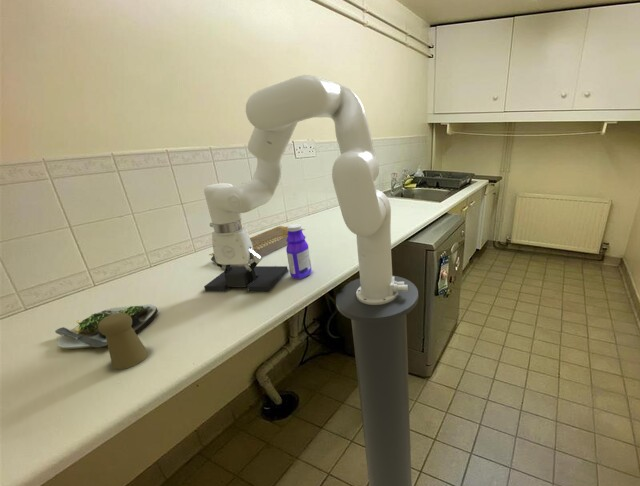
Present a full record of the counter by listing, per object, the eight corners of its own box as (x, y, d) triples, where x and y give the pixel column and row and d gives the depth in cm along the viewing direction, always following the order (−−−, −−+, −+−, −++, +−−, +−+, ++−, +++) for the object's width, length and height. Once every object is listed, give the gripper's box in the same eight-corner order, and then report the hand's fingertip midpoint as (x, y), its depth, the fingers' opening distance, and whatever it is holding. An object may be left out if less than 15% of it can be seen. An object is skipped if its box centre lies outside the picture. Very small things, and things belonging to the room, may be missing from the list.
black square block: (256, 277, 100) (253, 266, 99) (246, 286, 95) (243, 275, 93) (238, 277, 100) (235, 266, 99) (227, 286, 95) (224, 275, 93)
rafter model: (239, 269, 109) (235, 253, 107) (211, 263, 114) (206, 248, 112) (305, 236, 139) (303, 223, 137) (281, 233, 144) (278, 220, 142)
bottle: (301, 269, 108) (293, 221, 102) (315, 271, 106) (308, 223, 100) (287, 278, 102) (278, 228, 95) (302, 281, 100) (293, 230, 94)
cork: (151, 346, 72) (134, 305, 68) (145, 363, 67) (127, 320, 63) (117, 355, 69) (98, 313, 65) (108, 373, 64) (87, 329, 60)
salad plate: (24, 359, 69) (14, 342, 67) (93, 313, 85) (86, 298, 84) (118, 352, 70) (111, 335, 69) (167, 308, 87) (162, 293, 85)
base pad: (288, 270, 107) (287, 266, 107) (268, 291, 94) (267, 286, 94) (232, 270, 108) (231, 266, 108) (205, 291, 95) (204, 286, 95)
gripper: (191, 230, 88) (207, 286, 94) (250, 230, 87) (262, 287, 93) (208, 222, 95) (222, 275, 101) (263, 222, 94) (274, 275, 100)
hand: (241, 280), depth 97 cm, fingers closed on black square block, 6 cm apart
